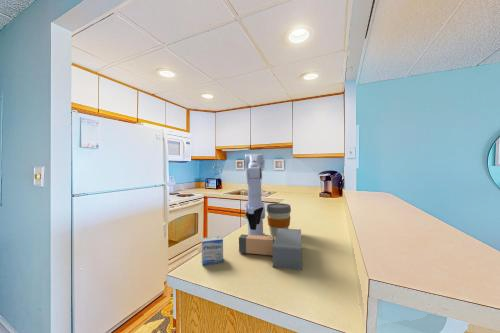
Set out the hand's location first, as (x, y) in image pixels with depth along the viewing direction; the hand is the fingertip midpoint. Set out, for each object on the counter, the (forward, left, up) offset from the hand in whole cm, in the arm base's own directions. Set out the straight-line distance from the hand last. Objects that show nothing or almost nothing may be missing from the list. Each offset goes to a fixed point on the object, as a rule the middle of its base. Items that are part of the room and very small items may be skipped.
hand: (255, 226), depth 86 cm
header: (+3, +14, -10) cm, 17 cm away
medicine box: (+13, -14, -10) cm, 22 cm away
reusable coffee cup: (-21, +8, -10) cm, 25 cm away
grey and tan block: (+3, +1, -10) cm, 10 cm away
